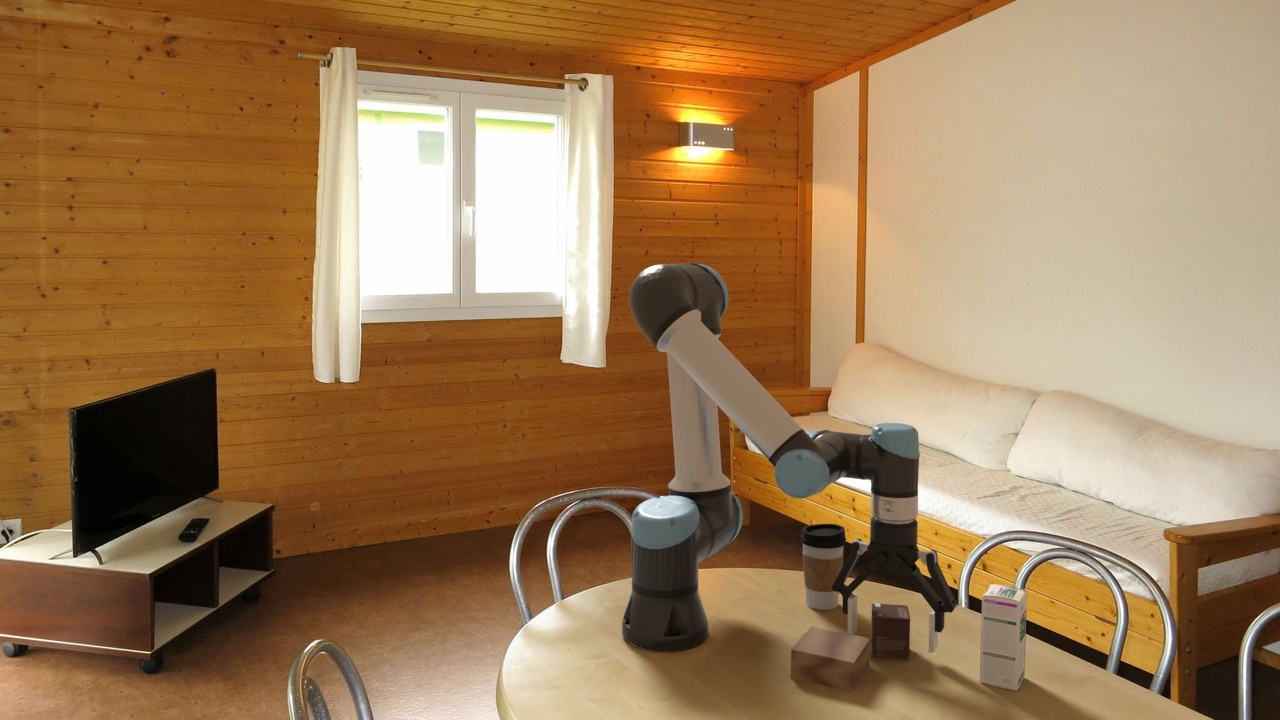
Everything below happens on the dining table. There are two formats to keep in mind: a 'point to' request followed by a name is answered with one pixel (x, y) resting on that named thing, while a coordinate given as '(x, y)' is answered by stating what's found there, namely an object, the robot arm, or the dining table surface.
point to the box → (890, 631)
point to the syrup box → (1003, 636)
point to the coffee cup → (822, 563)
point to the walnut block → (830, 658)
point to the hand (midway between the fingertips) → (891, 641)
